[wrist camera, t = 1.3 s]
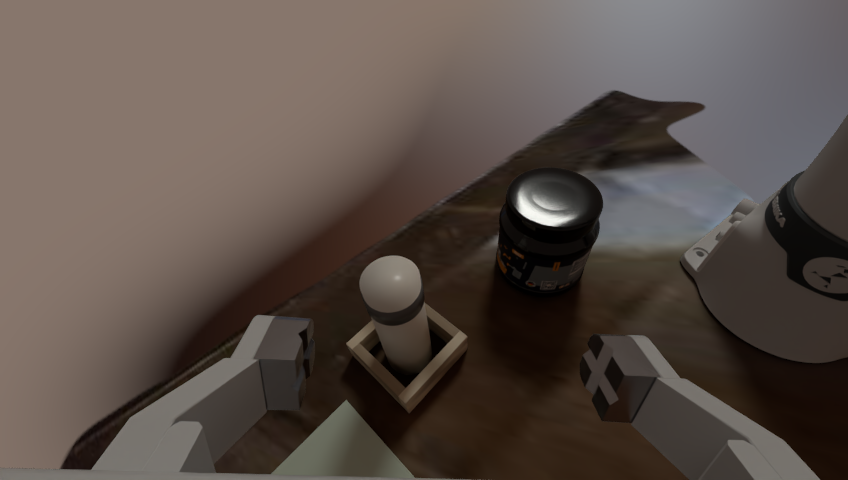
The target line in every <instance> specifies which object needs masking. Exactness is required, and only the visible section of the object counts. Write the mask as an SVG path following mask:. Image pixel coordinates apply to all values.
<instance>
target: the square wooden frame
mask: <svg viewBox="0 0 848 480" xmlns="http://www.w3.org/2000/svg"><path fill="white" fill-rule="evenodd" d="M425 309H426V315H427V321H428V327H429V329H430V330H431V331H432V332H434V333H435V334H436V335H437V336H438V337H440V338H441V339H442V340H443V341H444V342H446V343H447V345H446V346H445V347H444V348H443V349H442V350H441V351H440V352H439V353H438V354H437V356H436V357H435V358H434V359H433V360H432V361H431V362H430V363H429V364H428V365H427V366H426V367H425V368H424V369H423V370H422V371H421V373H420V374H419V375H418V376H417V377H416V378H415V379H414V380H413V381H412V382H411V383H410V384H409V385H408V386H407V387H406V388H405V387H404V386H403V385H402V384H401V383H400V382H399V381H398V380H397V379H396V378H395V377H394V376H393V375H392V374H391V373H390V372H389V371H388V370H387V369H386V368H385V367H384V366H383V365H381V364H380V363H379V362H378V361H377V360H376V359H375V358H374V357H373V356H372V355H371V354H370V353H369V351H370V350H371V349H372V348H373V347H374V346H375V345H376V344H377V343H378V342H379V341H380V339H379V336H378V334H377V331H376V329H375V326H374V323H373V321H371V322H370V323H368V324H367V325H366V326H365V327H364V328H363V329H362V330H361V331H360V332H358V333H357V334H356V335H355V336H354V337H353V338H352V339H351V340H350V341H349V342H347V343H346V344H347V346H348V348H349V350H350V352H351V353H352V355H353V356H354V357H355V358H356V359H357V361H358V362H359V363H360V364H361V365H362V366H363V367H364V368H365V369H366V370H367V371H368V372H369V373H370V374H371V375H372V376H373V377H374V378H375V379H376V380H377V381H378V382H379V383H380V384H381V385H382V386H383V387H384V388H385V389H386V390H387V391H388V392H389V393H390V394H391V395H392V396H393V397H394V398H395V399H396V400H397V401H398V402H399V403H400V404H401V406H402V407H403V408H404V409H405V410H406V411H407V412H408V413H410V412H411V411H412V410H413V409H414V408H415V407H416V406H417V404H418V403H419V402H420V401H421V400H422V399H423V398H424V397H425V396H426V394H427V393H428V392H429V391H430V390H431V389H432V388H433V387H434V386H435V384H436V383H437V382H438V381H439V380H440V379H441V378H442V377H443V376H444V374H445V373H446V372H447V371H448V370H449V369H450V368H451V367H452V366H453V364H454V363H455V362H456V361H457V360H458V359H459V358H460V357H461V356H462V355H463V353H464V352H465V351H466V350H467V336H466V335H465V334H464V333H462V332H461V331H460V330H459V329H457V328H456V327H455V326H454V325H452V324H451V323H450V322H448V321H447V320H446V319H445V318H443V317H442V316H441V315H440V314H438V313H437V312H436V311H434V310H433V309H432V308H431V307H429V306H428V305H427V304H426V303H425Z"/></svg>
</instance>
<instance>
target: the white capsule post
mask: <svg viewBox="0 0 848 480" xmlns="http://www.w3.org/2000/svg"><path fill="white" fill-rule="evenodd" d="M360 290H361V295H362V299H363V301H364V304H365V306H366V309H367V311H368V313H369V315H370V316H371V318H372V321H373V323H374V326H375V329H376V331H377V334H378V336H379V339H380V341H381V344H382V347H383V349H384V352H385V354H386V357H387V359H388V362H389V364H390V366H391V367H392V368H393V369H394V370H395V371H396V372H398V373H400V374H404V375H413V374H416V373H419V372H421V371H422V370H423V369H424V368H425V367H426V366H427V365H428V364H429V362H430V360H431V357H432V346H431V340H430V333H429V327H428V321H427V315H426V309H425V303H424V290H423V284H422V279H421V276H420V273H419V270H418V268H417V267H416V265H415V264H414V263H413V262H412V261H410V260H409V259H407V258H404V257H400V256H386V257H382V258H380V259H377V260H375V261H374V262H372V263H371V264H370V265H368V266H367V267H366V269H365V270H364V271H363V273H362V275H361V278H360Z"/></svg>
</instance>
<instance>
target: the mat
mask: <svg viewBox="0 0 848 480" xmlns="http://www.w3.org/2000/svg"><path fill="white" fill-rule="evenodd" d="M271 475H311V476H351V477H391V478H415V477H414V476H413V475H412V474H411V473H410V472H409V471H408V469H407V468H406V467H405V466H404V465H403V464H402V463H401V462H400V460H399V459H398V458H397V457H396V456H395V455H394V454H393V452H392V451H391V450H390V449H389V448H388V447H387V446H386V445H385V443H384V442H383V441H382V440H381V439H380V438H379V437H378V435H377V434H376V433H375V432H374V431H373V430H372V429H371V427H370V426H369V425H368V424H367V423H366V422H365V421H364V420H363V418H362V417H361V416H360V415H359V414H358V413H357V412H356V410H355V409H354V408H353V407H352V406H351V405H350V404H349V403H348V401H347V400H346V401H345V402H344V403H343V404H342V405H341V406H340V407H339V408H338V409H337V410H335V411H334V412H333V413H332V414H331V415H330V416H329V417H328V418H327V419H326V420H325V421H324V422H323V423H322V424H321V425H320V426H319V427H318V428H317V429H316V430H315V431H314V432H313V433H312V434H311V435H310V436H309V437H308V438H307V439H306V440H305V441H304V442H303V443H302V444H301V445H300V446H299V447H298V448H297V449H296V450H295V451H294V452H293V453H292V454H291V455H290V456H289V457H288V458H287V459H286V460H285V461H284V462H283V463H282V464H281V465H280V466H279V467H278V468H277V469H276V470H275V471H274V472H273V473H272V474H271Z"/></svg>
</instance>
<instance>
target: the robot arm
mask: <svg viewBox="0 0 848 480" xmlns="http://www.w3.org/2000/svg"><path fill="white" fill-rule="evenodd" d="M698 255H699V256H698ZM680 261H681V264H682V265H683V267H684V268H685V269H686V270H687V271H688V273H689V274H690V275H691V276H692V277H693V278H694V280H695V281H696V283H697V286H698V289H699V292H700V294H701V297H702V299H703V301H704V302H705V304H706V306H707V307H708V309H709V310H710V311H711V313H712V314H713V315H714V316H715V317H716V318H717V319H718V320H719V321H720V322H721V323H722V324H723V325H724V326H725V327H726V328H727V329H729V330H730V331H731V332H732V333H734V334H735V335H737V336H738V337H739V338H741V339H743V340H744V341H746V342H747V343H749V344H751V345H753V346H755V347H757V348H759V349H761V350H763V351H765V352H768V353H770V354H773V355H776V356H778V357H782V358H785V359H789V360H793V361H799V362H806V363H825V362H831V361H835V360H839V359H842V358H846V357H848V115H847V116H846V118H845V119H844V121H843V122H842V123H841V125H840V126H839V128H838V129H837V131H836V132H835V133H834V135H833V136H832V137H831V139H830V140H829V141H828V143H827V144H826V146H825V147H824V148H823V149H822V151H821V152H820V153H819V155H818V156H817V157H816V158H815V159H814V161H813V162H812V163H811V164H810V166H809V167H808V168H807V169H806V170H805V171H803V172H801V173H799V174H797V175H795V176H794V177H793V178H792V179H791V180H790V181H788V182H787V183H785V184H784V185H783V186H782V187H781V188H780V189H779V190H778V191H776V192H775V193H774V194H772V195H771V196H770V197H769V198H768V199H766V200H765V201H764V202H763V203H762V204H757V203H754V202H753V201H750V200H748V199H743V200H742V201H741V202H740V203H739V204H738V205H737V206H736V208H735V209H734V210H733V211H732V213H731V215H730V216H728V217H727V218H726V219H725V220H724V221H722V222H721V223H720V224H719V225H718V226H716V227H715V228H714V229H713V230H712V231H710V232H709V233H708V234H707V235H706V236H704V237H703V238H702V239H701V240H700V241H698V242H697V243H696V244H695V245H694V246H692V247H691V248H690V249H689V250H688V251H686V252H685V253H684V254H683V255H682V257H681V258H680ZM313 331H314V327H313V320H312V319H307V318H294V317H281V316H276V317H275V316H263V315H257V316H256V317H254V318H253V320H252V322H251V323H250V325H249V327H248V329H247V330H246V332H245V334H244V336H243V337H242V339H241V341H240V343H239V344H238V346H237V348H236V350H235V351H234V353H233V355H232V357H231V358H224V359H223V360H221V361H219V362H218V363H216V364H215V365H213V366H211V367H210V368H208V369H207V370H205V371H203V372H202V373H200V374H199V375H197V376H196V377H194V378H192V379H191V380H189V381H188V382H186V383H184V384H183V385H181V386H180V387H178V388H176V389H175V390H173V391H172V392H170V393H169V394H167V395H165V396H164V397H162V398H161V399H159V400H157V401H156V402H154V403H153V404H151V405H150V406H148V407H146V408H145V409H143V410H142V411H140V412H138V413H137V414H135V415H134V416H132V417H130V419H129V420H128V421H127V423H126V424H125V425H124V427H123V428H122V429H121V431H120V432H119V433H118V435H117V436H116V437H115V439H114V440H113V441H112V443H111V444H110V445H109V447H108V448H107V449H106V451H105V452H104V453H103V455H102V456H101V457H100V459H99V460H98V461H97V463H96V464H95V465H94V467H93V468H92V469H91V470H69V469H27V468H0V480H469V479H431V478H391V477H351V476H311V475H271V474H230V473H216V472H215V468H214V465H213V464H214V463H215V462H216V461H217V460H218V459H219V458H220V457H221V456H222V455H223V454H224V453H225V452H226V451H227V450H228V449H229V448H230V447H231V446H232V445H233V444H234V443H236V442H237V441H238V440H239V439H240V438H241V437H242V436H243V435H244V434H245V433H246V432H247V431H248V430H249V429H250V428H251V427H252V426H253V425H254V424H255V423H256V422H257V421H258V420H259V419H260V418H261V417H262V416H263V415H264V414H265V413H266V412H267V410H300V407H301V404H302V401H303V398H304V395H305V391H306V379H307V378H308V377H309V376H310V375H311V371H312V368H313V362H314V356H315V342H314V341H313V340H312V339H311V337H312V334H313ZM588 346H589V348H590V350H589V351H588V352H586V353H585V354H584V355H583V356H582V359H581V362H580V375H581V379H582V382H583V384H584V386H585V388H587V389H588V390H589V391H590V392H591V393H593V394H594V395H593V398H592V402H593V404H594V406H595V408H596V410H597V412H598V414H599V416H600V418H601V420H602V421H607V422H622V423H632V424H631V425H632V426H633V427H634V428H635V429H636V430H637V431H639V432H640V433H641V434H642V435H643V436H644V437H645V438H646V439H647V440H648V441H649V442H650V443H651V444H652V445H653V446H654V447H655V448H657V449H658V450H659V451H660V452H661V453H662V454H663V455H664V456H665V457H666V458H667V459H668V460H669V461H670V462H671V463H672V464H673V465H674V466H676V467H677V468H678V469H679V470H680V471H681V472H682V473H683V474H684V475H685V476H686V477H687V478H688V479H689V480H820V479H819V478H818V477H817V476H816V475H815V473H814V472H813V471H812V470H811V469H810V468H809V467H808V466H807V465H806V464H805V463H804V462H803V460H802V459H801V458H800V457H799V456H798V455H797V454H796V453H795V452H794V451H793V450H792V449H791V447H790V446H789V445H788V444H787V443H786V442H785V441H784V440H782V439H781V438H779V437H778V436H776V435H774V434H773V433H771V432H770V431H768V430H766V429H765V428H763V427H762V426H760V425H758V424H757V423H755V422H754V421H752V420H750V419H749V418H747V417H746V416H744V415H742V414H741V413H739V412H738V411H736V410H734V409H733V408H731V407H730V406H728V405H726V404H725V403H723V402H722V401H720V400H718V399H717V398H715V397H714V396H712V395H710V394H709V393H707V392H706V391H704V390H703V389H701V388H699V387H698V386H696V385H695V384H693V383H691V382H690V381H688V380H687V379H680V377H679V376H678V375H677V374H676V372H675V371H674V370H673V369H672V367H671V366H670V365H669V364H668V362H667V361H666V360H665V359H664V357H663V356H662V355H661V353H660V352H659V351H658V350H657V348H656V347H655V346H654V345H653V343H652V342H651V341H650V340H649V339H648V338H647V337H645V336H638V335H626V336H625V335H607V334H593V335H592V336H591V337H590V339H589V341H588Z"/></svg>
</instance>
